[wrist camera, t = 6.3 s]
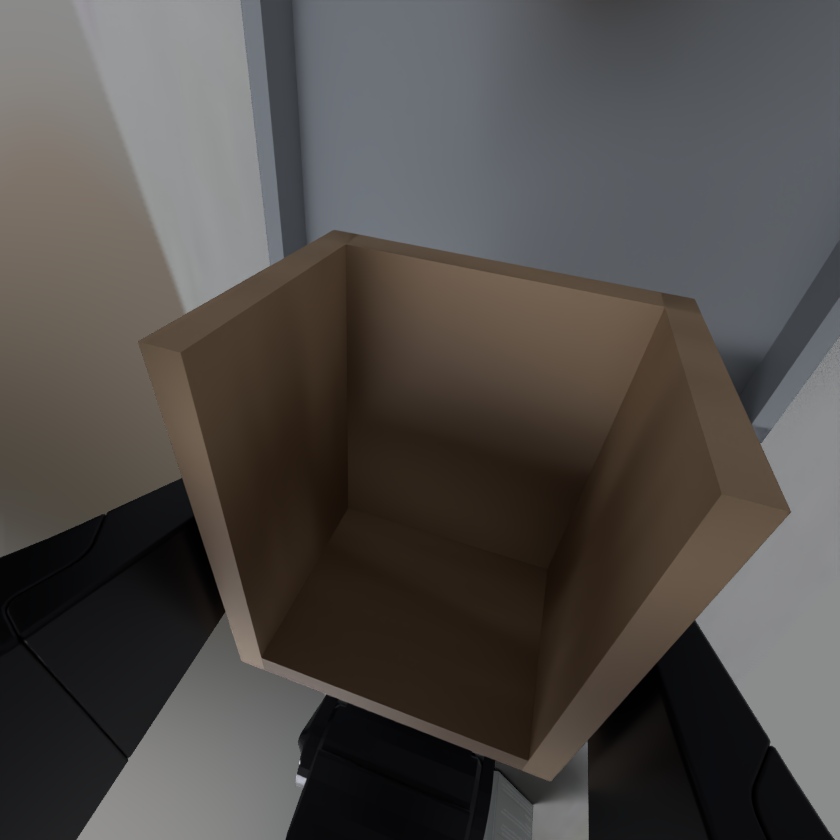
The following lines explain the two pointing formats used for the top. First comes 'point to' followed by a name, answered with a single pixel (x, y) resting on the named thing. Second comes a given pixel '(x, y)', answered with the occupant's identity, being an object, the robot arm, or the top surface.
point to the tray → (575, 150)
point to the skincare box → (508, 812)
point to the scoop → (460, 484)
